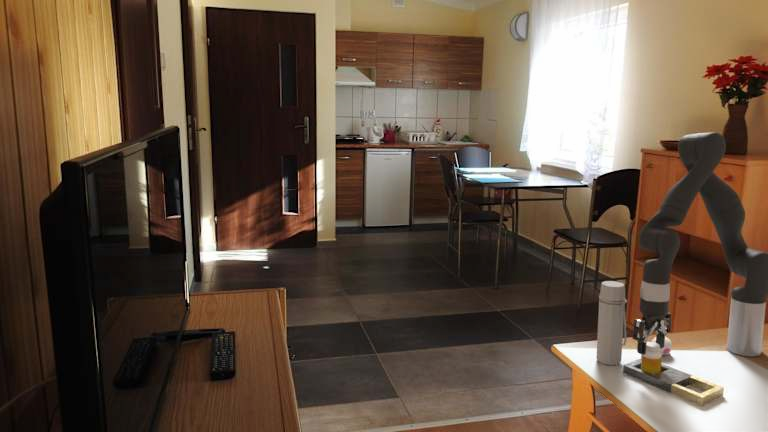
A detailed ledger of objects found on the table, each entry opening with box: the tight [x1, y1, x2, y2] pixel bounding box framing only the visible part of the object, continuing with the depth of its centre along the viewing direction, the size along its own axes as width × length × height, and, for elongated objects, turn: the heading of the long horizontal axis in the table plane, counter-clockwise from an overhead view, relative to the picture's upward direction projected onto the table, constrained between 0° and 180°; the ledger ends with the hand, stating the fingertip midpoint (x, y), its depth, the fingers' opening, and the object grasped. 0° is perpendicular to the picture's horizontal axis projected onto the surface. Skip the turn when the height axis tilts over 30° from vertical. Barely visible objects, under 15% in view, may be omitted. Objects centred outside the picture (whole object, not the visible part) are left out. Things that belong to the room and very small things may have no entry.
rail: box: [622, 358, 725, 407], centre depth 158 cm, size 10×24×2 cm, turn 31°
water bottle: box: [596, 280, 628, 366], centre depth 172 cm, size 9×8×25 cm
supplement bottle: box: [640, 341, 663, 375], centre depth 163 cm, size 5×5×10 cm
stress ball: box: [651, 336, 673, 356], centre depth 178 cm, size 8×8×7 cm
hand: (650, 350), depth 162 cm, fingers open, 8 cm apart
